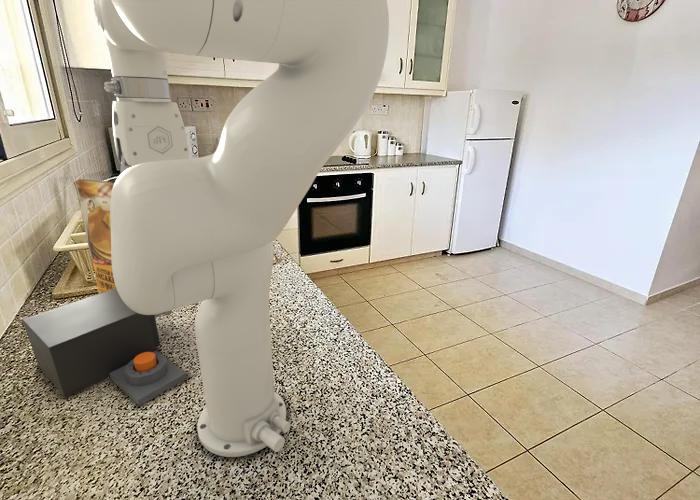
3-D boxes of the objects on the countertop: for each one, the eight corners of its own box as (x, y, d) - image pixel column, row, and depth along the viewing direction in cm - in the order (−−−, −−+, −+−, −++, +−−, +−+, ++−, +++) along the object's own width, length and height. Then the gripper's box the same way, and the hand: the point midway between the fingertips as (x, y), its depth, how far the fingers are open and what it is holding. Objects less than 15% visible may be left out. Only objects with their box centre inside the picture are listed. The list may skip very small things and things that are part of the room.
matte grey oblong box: (125, 329, 77) (115, 288, 73) (156, 353, 70) (147, 308, 66) (38, 366, 66) (22, 319, 62) (65, 398, 59) (48, 347, 55)
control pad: (187, 378, 64) (184, 364, 63) (139, 406, 58) (135, 390, 57) (157, 355, 69) (154, 342, 68) (110, 378, 63) (106, 364, 62)
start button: (160, 365, 63) (158, 356, 62) (141, 375, 60) (139, 366, 60) (150, 357, 65) (149, 349, 64) (131, 367, 62) (129, 358, 62)
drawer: (152, 316, 80) (146, 283, 77) (181, 335, 74) (175, 300, 71) (53, 356, 67) (41, 319, 64) (79, 384, 61) (66, 344, 58)
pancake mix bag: (114, 287, 94) (87, 176, 84) (168, 304, 87) (147, 184, 77) (86, 299, 88) (55, 181, 78) (143, 318, 81) (116, 191, 71)
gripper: (100, 89, 50) (127, 220, 57) (200, 93, 61) (213, 202, 68) (78, 89, 54) (105, 211, 61) (176, 93, 65) (189, 196, 72)
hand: (162, 206), depth 64 cm, fingers closed
